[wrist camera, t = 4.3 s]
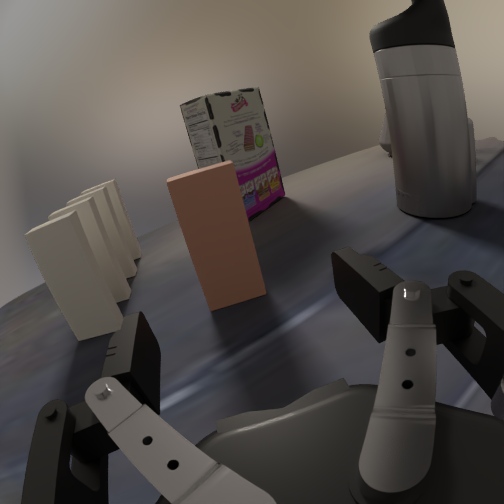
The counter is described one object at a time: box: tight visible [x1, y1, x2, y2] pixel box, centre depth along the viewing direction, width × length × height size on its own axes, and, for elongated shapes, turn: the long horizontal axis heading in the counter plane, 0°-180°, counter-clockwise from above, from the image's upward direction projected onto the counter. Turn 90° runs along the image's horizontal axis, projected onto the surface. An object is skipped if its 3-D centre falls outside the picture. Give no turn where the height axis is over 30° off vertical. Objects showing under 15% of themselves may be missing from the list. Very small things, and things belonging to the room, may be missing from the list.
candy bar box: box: [180, 87, 285, 222], centre depth 40 cm, size 11×5×16 cm, turn 145°
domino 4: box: [25, 210, 123, 341], centre depth 22 cm, size 4×2×10 cm, turn 102°
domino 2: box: [67, 186, 137, 278], centre depth 31 cm, size 4×2×10 cm, turn 102°
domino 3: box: [48, 196, 131, 303], centre depth 26 cm, size 4×2×10 cm, turn 102°
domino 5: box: [167, 160, 267, 311], centre depth 22 cm, size 4×2×10 cm, turn 102°
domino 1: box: [80, 179, 142, 260], centre depth 35 cm, size 4×2×10 cm, turn 102°
